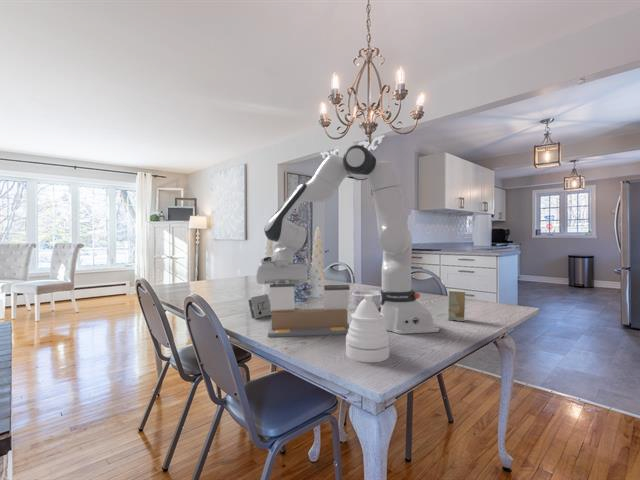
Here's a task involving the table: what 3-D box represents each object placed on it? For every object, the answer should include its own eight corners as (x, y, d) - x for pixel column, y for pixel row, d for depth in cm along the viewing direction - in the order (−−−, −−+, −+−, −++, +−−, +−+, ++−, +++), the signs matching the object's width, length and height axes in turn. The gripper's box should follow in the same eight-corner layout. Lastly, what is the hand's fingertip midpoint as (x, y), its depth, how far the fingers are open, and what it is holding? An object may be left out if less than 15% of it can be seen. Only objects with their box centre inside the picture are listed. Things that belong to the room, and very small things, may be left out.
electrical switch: (256, 319, 140) (254, 297, 140) (248, 318, 143) (246, 297, 144) (272, 315, 147) (270, 294, 148) (264, 314, 151) (262, 294, 151)
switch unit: (345, 322, 133) (345, 305, 133) (352, 333, 119) (352, 313, 119) (270, 325, 130) (270, 307, 130) (268, 337, 116) (267, 316, 116)
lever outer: (294, 309, 125) (294, 284, 128) (294, 309, 123) (294, 283, 126) (270, 310, 124) (270, 285, 127) (269, 309, 122) (270, 284, 125)
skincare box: (448, 320, 135) (448, 290, 135) (448, 317, 139) (448, 288, 139) (465, 321, 133) (465, 291, 132) (464, 319, 137) (464, 289, 137)
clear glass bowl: (351, 305, 165) (351, 289, 165) (382, 305, 163) (382, 289, 163) (351, 312, 150) (351, 295, 150) (385, 313, 148) (385, 295, 148)
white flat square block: (347, 306, 126) (348, 284, 123) (348, 309, 125) (349, 287, 121) (323, 307, 126) (324, 285, 122) (323, 310, 124) (324, 288, 120)
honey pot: (395, 361, 93) (394, 297, 93) (349, 363, 92) (349, 299, 92) (382, 345, 106) (382, 289, 106) (342, 347, 105) (342, 290, 105)
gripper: (307, 267, 139) (308, 295, 130) (258, 268, 138) (256, 296, 128) (308, 258, 135) (309, 286, 125) (257, 258, 133) (254, 287, 124)
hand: (282, 291), depth 127 cm, fingers closed, pressing on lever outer
